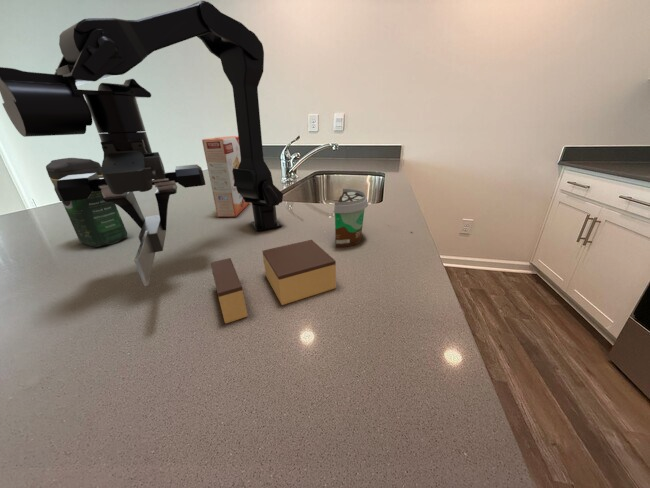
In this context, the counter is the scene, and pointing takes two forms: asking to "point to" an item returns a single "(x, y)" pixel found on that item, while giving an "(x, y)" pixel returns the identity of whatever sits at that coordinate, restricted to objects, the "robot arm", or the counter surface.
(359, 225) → the food container
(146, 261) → the knife
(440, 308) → the counter surface
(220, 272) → the cake slice
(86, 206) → the coffee jar
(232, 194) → the cracker box
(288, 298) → the cake
